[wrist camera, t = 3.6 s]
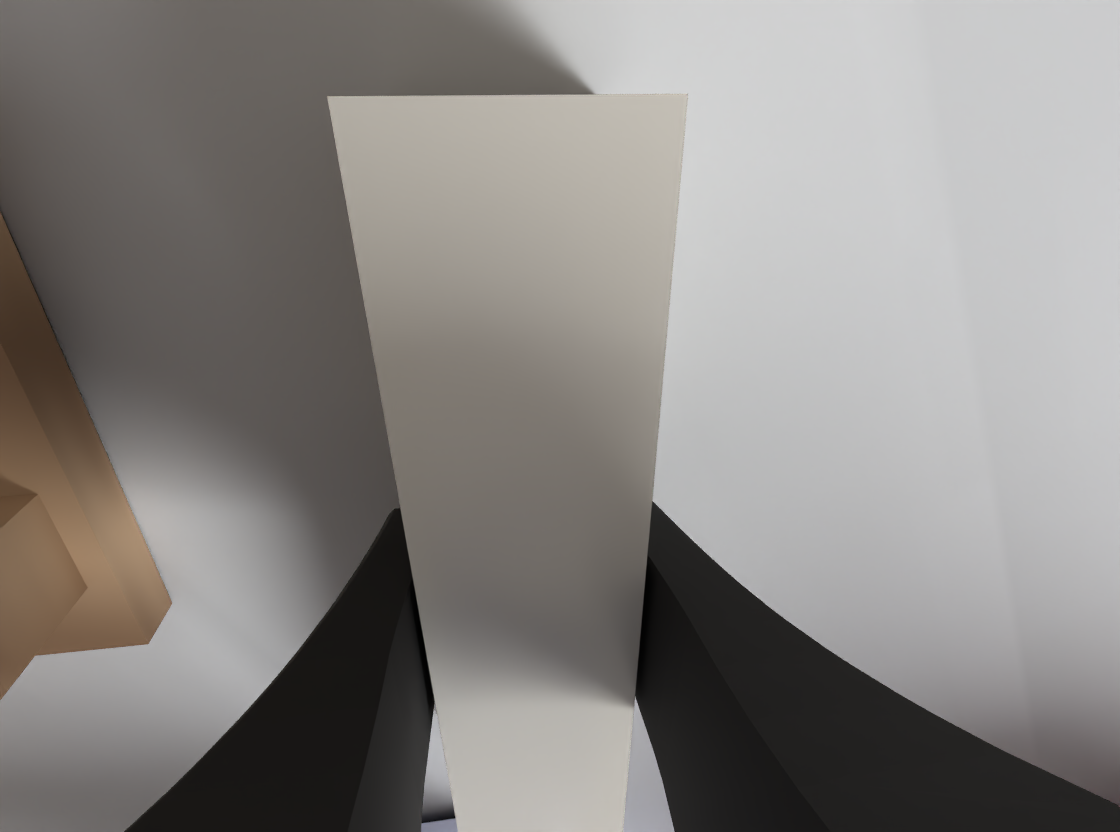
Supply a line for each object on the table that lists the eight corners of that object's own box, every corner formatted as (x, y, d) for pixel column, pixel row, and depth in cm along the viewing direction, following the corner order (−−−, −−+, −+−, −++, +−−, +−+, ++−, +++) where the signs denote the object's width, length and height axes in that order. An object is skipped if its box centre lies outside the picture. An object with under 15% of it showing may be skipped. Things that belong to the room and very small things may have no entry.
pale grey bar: (584, 700, 15) (619, 878, 12) (470, 716, 15) (470, 904, 11) (596, 97, 8) (688, 93, 5) (387, 98, 8) (327, 97, 5)
